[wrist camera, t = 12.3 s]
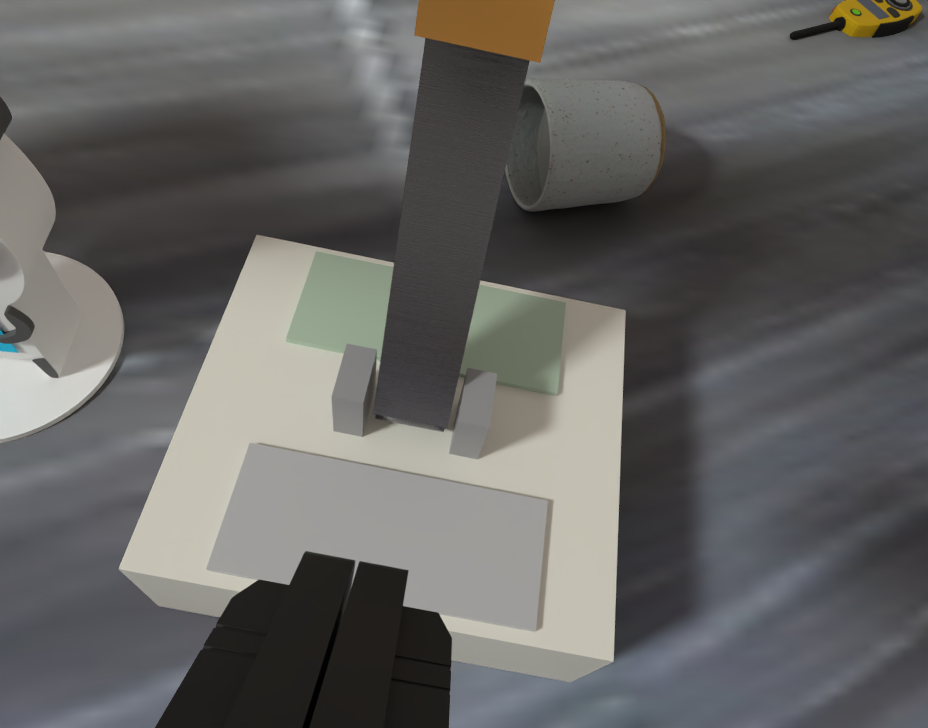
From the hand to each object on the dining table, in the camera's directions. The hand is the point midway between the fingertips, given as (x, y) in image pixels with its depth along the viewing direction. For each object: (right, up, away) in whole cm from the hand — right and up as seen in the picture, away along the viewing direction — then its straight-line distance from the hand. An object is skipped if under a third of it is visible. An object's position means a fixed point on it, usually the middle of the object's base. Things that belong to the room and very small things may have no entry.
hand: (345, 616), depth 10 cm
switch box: (-1, -2, +24) cm, 24 cm away
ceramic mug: (+8, +16, +37) cm, 41 cm away
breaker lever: (0, +2, +18) cm, 18 cm away
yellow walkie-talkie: (+35, +33, +52) cm, 71 cm away
